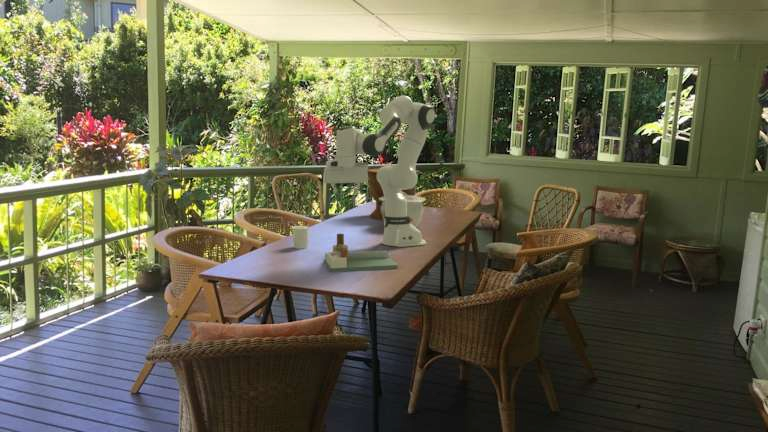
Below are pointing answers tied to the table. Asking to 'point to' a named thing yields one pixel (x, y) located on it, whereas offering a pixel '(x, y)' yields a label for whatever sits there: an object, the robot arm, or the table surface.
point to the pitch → (357, 263)
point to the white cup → (300, 236)
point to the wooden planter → (381, 192)
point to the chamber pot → (409, 207)
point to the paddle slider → (341, 246)
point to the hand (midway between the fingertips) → (345, 192)
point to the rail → (365, 255)
